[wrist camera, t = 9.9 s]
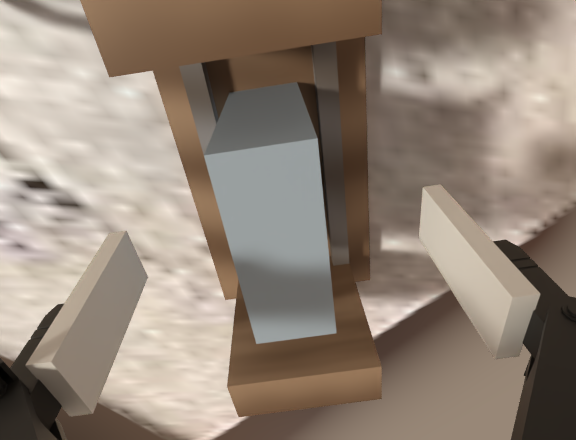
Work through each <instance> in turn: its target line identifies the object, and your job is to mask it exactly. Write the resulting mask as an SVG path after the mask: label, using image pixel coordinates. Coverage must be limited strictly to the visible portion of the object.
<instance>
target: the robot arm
mask: <svg viewBox="0 0 576 440" xmlns="http://www.w3.org/2000/svg"><path fill="white" fill-rule="evenodd" d="M419 239H420V241H421V242H422V244H423V246H424V247H425V249H426V250H427V252H428V254H429V255H430V257H431V258H432V260H433V261H434V263H435V265H436V266H437V268H438V269H439V271H440V273H441V274H442V276H443V277H444V279H445V281H446V282H447V284H448V285H449V287H450V289H451V290H452V292H453V293H454V295H455V297H456V298H457V300H458V301H459V303H460V305H461V306H462V308H463V309H464V311H465V312H466V314H467V316H468V317H469V318H470V320H471V322H472V324H473V325H474V327H475V328H476V330H477V332H478V333H479V335H480V336H481V338H482V340H483V341H484V343H485V344H486V346H487V347H488V349H489V351H490V352H491V354H492V356H493V357H494V359H501V358H509V357H517V356H519V355H520V352H521V349H522V346H523V344H524V345H525V347H526V348H527V349H528V351H529V352H530V353H531V357H530V360H529V363H528V365H527V368H526V371H525V373H524V376H526V377H525V381H524V385H523V390H522V394H521V398H520V402H519V407H518V411H517V416H516V420H515V424H514V428H513V433H512V437H511V440H576V298H574V297H569V296H568V295H567V294H566V293H565V292H564V291H563V290H562V289H561V288H560V287H559V286H558V285H557V284H556V283H555V282H554V281H553V280H552V279H551V278H550V277H549V276H548V275H547V274H546V273H545V272H544V271H543V270H542V269H541V268H540V267H538V265H537V264H536V263H535V262H534V261H533V260H532V259H530V257H529V256H528V255H527V254H526V253H525V252H524V251H523V250H522V249H521V248H520V247H518V246H516V245H515V244H513V243H511V242H509V241H507V240H500V241H492V240H491V239H490V238H489V237H488V236H487V235H486V234H485V232H484V231H483V230H482V229H481V228H480V227H479V226H478V225H477V224H476V223H475V222H474V220H473V219H472V218H471V217H470V216H469V215H468V214H467V213H466V212H465V211H464V209H463V208H462V207H461V206H460V205H459V204H458V203H457V202H456V201H455V200H454V199H453V197H452V196H451V195H450V194H449V193H448V192H447V191H446V190H445V189H444V188H443V186H442V185H441V184H439V185H432V186H426V187H423V191H422V203H421V216H420V229H419ZM147 278H148V276H147V274H146V272H145V270H144V268H143V265H142V263H141V261H140V259H139V257H138V255H137V253H136V250H135V248H134V246H133V244H132V242H131V240H130V238H129V236H128V233H127V231H121V232H114V233H109V235H108V236H107V238H106V239H105V241H104V242H103V244H102V246H101V247H100V249H99V250H98V252H97V253H96V255H95V256H94V258H93V260H92V261H91V263H90V264H89V266H88V267H87V269H86V271H85V272H84V274H83V275H82V277H81V278H80V280H79V282H78V283H77V285H76V286H75V288H74V289H73V291H72V293H71V294H70V296H69V297H68V299H67V300H66V302H65V304H58V305H57V306H56V307H54V308H53V309H52V310H51V311H50V312H49V313H48V314H47V315H46V316H45V317H44V318H43V320H42V321H41V323H40V324H39V326H38V327H37V328H38V329H37V330H35V332H34V333H33V335H32V336H31V340H29V341H28V342H27V344H26V345H25V347H24V348H23V350H22V351H21V353H20V354H19V356H18V357H17V359H16V360H15V362H14V363H13V365H12V366H11V368H9V367H8V366H7V365H6V364H5V363H4V362H3V361H2V359H1V358H0V440H67V439H66V436H65V434H64V431H63V428H62V426H61V424H60V422H59V421H58V420H57V419H56V417H57V415H58V413H59V411H60V409H61V407H62V408H63V409H64V410H65V411H66V412H67V414H68V415H69V416H77V415H85V414H92V413H93V412H94V409H95V407H96V404H97V402H98V399H99V397H100V394H101V392H102V390H103V387H104V385H105V382H106V380H107V377H108V375H109V372H110V370H111V367H112V365H113V362H114V360H115V357H116V355H117V352H118V350H119V347H120V345H121V343H122V340H123V338H124V335H125V333H126V330H127V328H128V325H129V323H130V320H131V318H132V315H133V313H134V310H135V308H136V305H137V303H138V300H139V298H140V296H141V293H142V291H143V288H144V286H145V283H146V281H147Z"/></svg>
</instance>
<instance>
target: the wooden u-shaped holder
mask: <svg viewBox="0 0 576 440" xmlns="http://www.w3.org/2000/svg"><path fill="white" fill-rule="evenodd" d="M80 1H81V4H82V6H83V9H84V11H85V14H86V17H87V19H88V22H89V25H90V27H91V30H92V33H93V35H94V38H95V40H96V43H97V46H98V48H99V51H100V54H101V56H102V59H103V61H104V64H105V67H106V69H107V72H108V75H109V77H114V76H121V75H127V74H133V73H140V72H146V71H152V70H153V73H154V76H155V79H156V82H157V85H158V88H159V91H160V95H161V98H162V101H163V104H164V107H165V110H166V114H167V117H168V120H169V123H170V126H171V129H172V133H173V136H174V139H175V142H176V145H177V148H178V151H179V155H180V158H181V161H182V164H183V167H184V170H185V174H186V177H187V180H188V183H189V186H190V189H191V193H192V196H193V199H194V202H195V205H196V208H197V211H198V215H199V218H200V221H201V224H202V227H203V230H204V234H205V237H206V240H207V243H208V246H209V249H210V253H211V256H212V259H213V262H214V265H215V268H216V271H217V275H218V278H219V281H220V284H221V287H222V290H223V294H224V297H225V300H228V299H235V298H236V306H235V316H234V326H233V335H232V345H231V355H230V365H229V374H228V384H227V387H228V390H229V393H230V395H231V398H232V401H233V403H234V406H235V409H236V411H237V414H238V416H239V417H244V416H252V415H259V414H267V413H275V412H282V411H291V410H298V409H306V408H314V407H322V406H330V405H337V404H345V403H352V402H361V401H368V400H376V399H381V370H382V369H381V363H380V360H379V357H378V354H377V351H376V347H375V344H374V341H373V338H372V335H371V331H370V328H369V325H368V322H367V319H366V315H365V312H364V309H363V306H362V303H361V299H360V296H359V293H358V290H357V287H356V283H355V282H358V281H365V280H370V254H369V208H368V163H367V117H366V72H365V37H366V36H373V35H379V34H382V0H80ZM294 82H297V84H298V86H299V89H300V92H301V94H302V97H303V100H304V103H305V105H306V108H307V111H308V114H309V116H310V119H311V122H312V124H313V127H314V130H315V133H316V135H317V138H318V148H319V158H320V168H321V179H322V189H323V199H324V210H325V220H326V230H327V240H328V251H329V261H330V271H331V282H332V292H333V302H334V312H335V323H336V333H335V334H328V335H320V336H313V337H305V338H298V339H290V340H283V341H275V342H268V343H261V344H256V341H255V337H254V334H253V330H252V327H251V323H250V319H249V316H248V312H247V309H246V305H245V301H244V298H243V294H242V291H241V287H240V283H239V280H238V276H237V273H236V269H235V265H234V262H233V258H232V255H231V251H230V248H229V244H228V240H227V237H226V233H225V230H224V226H223V222H222V219H221V215H220V212H219V208H218V204H217V201H216V197H215V194H214V190H213V186H212V183H211V179H210V176H209V172H208V169H207V165H206V161H205V158H204V154H205V151H206V149H207V147H208V144H209V142H210V139H211V137H212V134H213V132H214V129H215V127H216V124H217V122H218V120H219V117H220V115H221V112H222V110H223V107H224V105H225V102H226V100H227V97H228V95H229V93H230V92H236V91H243V90H249V89H256V88H262V87H268V86H275V85H281V84H288V83H294Z"/></svg>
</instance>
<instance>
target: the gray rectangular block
mask: <svg viewBox="0 0 576 440" xmlns="http://www.w3.org/2000/svg"><path fill="white" fill-rule="evenodd" d="M204 158H205V161H206V165H207V169H208V172H209V176H210V179H211V183H212V186H213V190H214V194H215V197H216V201H217V204H218V208H219V212H220V215H221V219H222V222H223V226H224V230H225V233H226V237H227V240H228V244H229V248H230V251H231V255H232V258H233V262H234V265H235V269H236V273H237V276H238V280H239V283H240V287H241V291H242V294H243V298H244V301H245V305H246V309H247V312H248V316H249V319H250V323H251V327H252V330H253V334H254V337H255V341H256V344H261V343H268V342H275V341H283V340H290V339H298V338H305V337H313V336H320V335H328V334H335V333H336V323H335V312H334V302H333V292H332V282H331V271H330V261H329V251H328V240H327V230H326V220H325V210H324V199H323V189H322V179H321V168H320V158H319V148H318V138H317V135H316V133H315V130H314V127H313V124H312V122H311V119H310V116H309V114H308V111H307V108H306V105H305V103H304V100H303V97H302V94H301V92H300V89H299V86H298V84H297V82H294V83H288V84H281V85H275V86H268V87H262V88H256V89H249V90H243V91H236V92H230V93H229V95H228V97H227V100H226V102H225V105H224V107H223V110H222V112H221V115H220V117H219V120H218V122H217V124H216V127H215V129H214V132H213V134H212V137H211V139H210V142H209V144H208V147H207V149H206V151H205V154H204Z"/></svg>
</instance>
